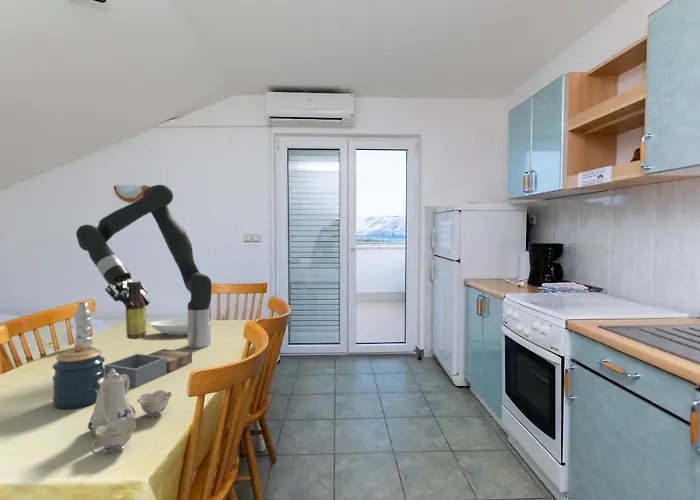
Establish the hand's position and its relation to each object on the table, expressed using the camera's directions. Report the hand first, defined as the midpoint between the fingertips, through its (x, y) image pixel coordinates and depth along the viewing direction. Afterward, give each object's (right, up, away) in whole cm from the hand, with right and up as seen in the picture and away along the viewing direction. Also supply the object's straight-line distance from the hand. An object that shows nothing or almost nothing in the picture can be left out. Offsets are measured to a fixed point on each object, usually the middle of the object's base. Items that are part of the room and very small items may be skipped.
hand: (139, 305), depth 134 cm
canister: (-9, -27, -17) cm, 33 cm away
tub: (-2, -26, +1) cm, 26 cm away
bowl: (-12, -24, +62) cm, 68 cm away
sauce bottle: (-2, -11, +1) cm, 12 cm away
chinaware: (+15, -28, -34) cm, 47 cm away
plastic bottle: (-45, -24, +36) cm, 62 cm away
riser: (+2, -25, +15) cm, 29 cm away
